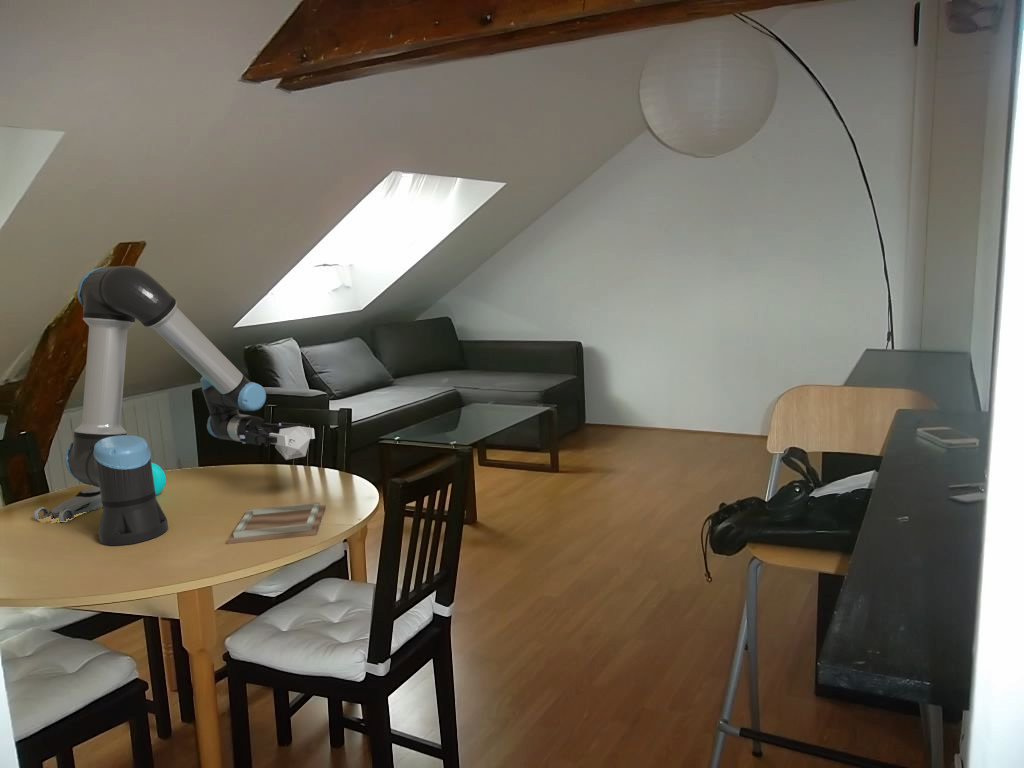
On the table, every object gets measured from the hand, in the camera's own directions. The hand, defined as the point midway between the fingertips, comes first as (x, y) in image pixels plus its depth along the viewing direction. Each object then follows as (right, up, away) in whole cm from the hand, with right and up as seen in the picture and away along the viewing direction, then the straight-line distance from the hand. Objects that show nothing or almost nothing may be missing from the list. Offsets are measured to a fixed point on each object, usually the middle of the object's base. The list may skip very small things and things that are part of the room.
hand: (299, 437), depth 205 cm
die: (-3, -6, +4) cm, 8 cm away
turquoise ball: (-47, -19, +16) cm, 53 cm away
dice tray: (-2, -20, -12) cm, 24 cm away
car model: (-61, -21, +12) cm, 66 cm away
